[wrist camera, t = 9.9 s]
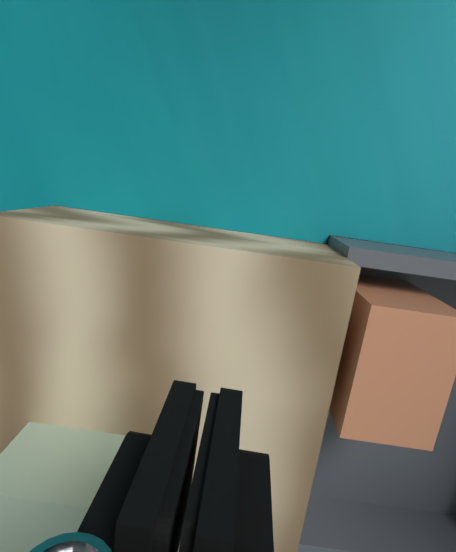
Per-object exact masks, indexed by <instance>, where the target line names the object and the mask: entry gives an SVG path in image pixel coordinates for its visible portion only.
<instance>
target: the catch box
mask: <svg viewBox="0 0 456 552" xmlns="http://www.w3.org/2000/svg"><path fill="white" fill-rule="evenodd" d="M328 245H329V246H331V247H332V248H334V249H335V250H336V251H338V252H339V253H341V254H342V255H344V256H345V257H346V258H348V259H349V260H351V261H352V262H354V263H355V264H356V265H358V266H359V267H361V270H360V274H359V275H365V276H372V277H379V278H386V279H393V280H400V281H406V282H410V283H411V284H413V285H415V286H416V287H418V288H420V289H422V290H423V291H425V292H427V293H428V294H430V295H432V296H433V297H435V298H437V299H439V300H440V301H442V302H444V303H445V304H447V305H449V306H451V307H452V308H454V309H456V253H451V252H444V251H437V250H430V249H423V248H416V247H409V246H402V245H395V244H387V243H380V242H373V241H366V240H359V239H352V238H345V237H338V236H331V235H329V240H328ZM297 552H456V377H455V380H454V383H453V386H452V390H451V393H450V396H449V399H448V403H447V406H446V409H445V412H444V415H443V419H442V422H441V425H440V428H439V432H438V435H437V438H436V441H435V445H434V448H433V451H427V450H421V449H414V448H407V447H400V446H393V445H386V444H379V443H372V442H365V441H359V440H352V439H345V438H340V437H339V435H338V432H337V429H336V427H335V424H334V422H333V419H332V417H331V414H330V411H329V412H328V417H327V421H326V426H325V430H324V435H323V439H322V444H321V448H320V452H319V457H318V461H317V466H316V470H315V475H314V479H313V484H312V488H311V492H310V497H309V501H308V506H307V510H306V515H305V519H304V524H303V528H302V533H301V537H300V541H299V546H298V550H297Z"/></svg>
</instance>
